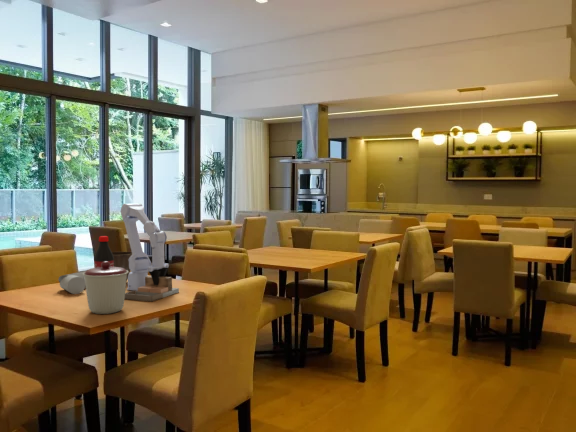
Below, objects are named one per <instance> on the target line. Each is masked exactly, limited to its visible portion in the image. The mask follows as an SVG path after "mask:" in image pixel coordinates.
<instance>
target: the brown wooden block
mask: <svg viewBox="0 0 576 432" xmlns="http://www.w3.org/2000/svg"><path fill="white" fill-rule="evenodd" d="M145 285H146V286H156V287H157V286H158V287H168V291H169V290H172V288H173V277H172V276H165V277H162V276H159V284H158V285H154V283H153V279H152V277H151V275H148V276H146V277H145Z"/></svg>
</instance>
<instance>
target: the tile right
mask: <svg viewBox="0 0 576 432" xmlns="http://www.w3.org/2000/svg"><path fill="white" fill-rule="evenodd" d="M167 291H168V287H158V286H157V287H154V288H151V289H150V292H151V293H163V292H167Z"/></svg>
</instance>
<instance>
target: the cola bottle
mask: <svg viewBox="0 0 576 432" xmlns="http://www.w3.org/2000/svg"><path fill="white" fill-rule="evenodd" d="M109 241H110V240H109V236H107V235H100V236H99V237H98V243H99V245H98V247H97V249H96V252H95V255H94V257H93V261H94V263H93V264H94V267H93V268H98V267H102V266H101V263H102V262H104V261H108V262H109V263H110V267H114V257H113V254H112V252H113V251H112V250H111V248H110V246H109Z"/></svg>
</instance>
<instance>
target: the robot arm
mask: <svg viewBox="0 0 576 432" xmlns="http://www.w3.org/2000/svg"><path fill="white" fill-rule="evenodd" d="M120 213H121V218H122V221H123V222H124V223H123V224H124V227H125V230H126V235H127V238H128V243H129V248H130V250H131V251H130V252H132V255H131V256H130V258H129V259H128V260H129V269H130V273H129V275H128V279H127V288H126V290H127V291H134V290H136V291H138V287H142V286H145V277H146V276H151V277H152V279H153V283H154V285H158V284H159V276H162V277H166V274H167V273H168V270H169V266H170V265H169V264H170V263H166V262H165V243H166V241H167V239H168V238H167V233H166V232H165V230H160V228H159V227H158V226H157V224H156V223H155V222H154V221H152V220H150V219H149V218H148V215H147V214H146V213H145V207H144V206H143V204H142V203H139V202H138V203H123V204H122V205H121V208H120ZM138 221H139V222H140V223H141V224H142V225H143V230H144V231H145V233H146V234H147V235H148V237H149V238H148V239H149V243H150V247H151V257H152V258H151V259H150V257H149V255H148V254H147V253H145V252H144V250H143V247H142V244H141V240H140V236H139V231H138V227H137V224H136V223H137V222H138ZM148 273H149V274H150V275H148Z"/></svg>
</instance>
